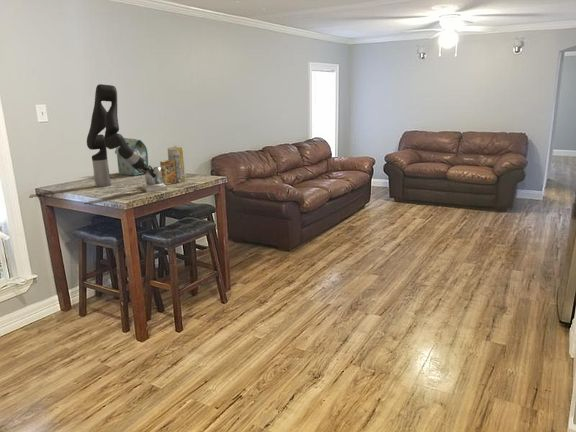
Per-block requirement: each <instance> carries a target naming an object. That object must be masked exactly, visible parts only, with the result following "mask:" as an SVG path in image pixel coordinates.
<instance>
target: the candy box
mask: <svg viewBox="0 0 576 432" xmlns="http://www.w3.org/2000/svg"><path fill="white" fill-rule="evenodd" d="M159 164H160V165H159V167H161V177H162V183H164V184H165V185H166V186H167V185H172V184H176V183H178V182H176V172H175V163H174V160H168V159H167V160H163V161H159Z"/></svg>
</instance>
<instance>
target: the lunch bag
mask: <svg viewBox="0 0 576 432" xmlns="http://www.w3.org/2000/svg"><path fill="white" fill-rule="evenodd" d="M123 138H124V139H125V141H126V143H127V144H128V146H129V147H130V148H131V149H132V150H133V151H135V152H136V153H137V154H138V155H139V156H140V157H141V158H142V159H143V160H144V164H146V165H147V166H149V155H148V148H147V146H146V145H145V143H144V142H143V141H142V139H137V138H127V137H123ZM119 148H120V146H119V147H116V148H115V150H114V154H115V155H116V159H117V168H118V169H117V170H118V174H120V175H127V176H138V175H144V174H143V173H140V172H139V171H137V170H136V169H134V168H133V167H132V166H131V165H130V164H129V163H128V162H127V161H126V160H125V159H124V158H123V157H122V156H121V155H120V154H119V153H118V149H119Z"/></svg>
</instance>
